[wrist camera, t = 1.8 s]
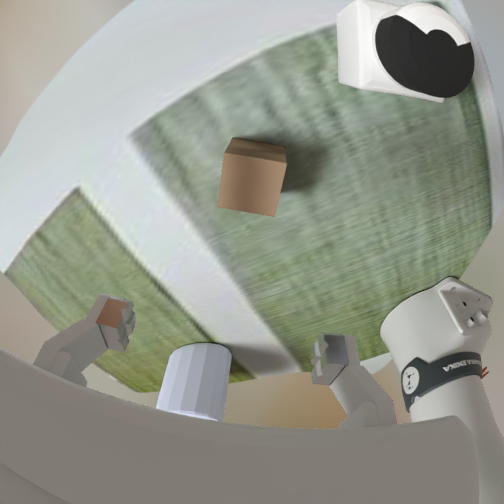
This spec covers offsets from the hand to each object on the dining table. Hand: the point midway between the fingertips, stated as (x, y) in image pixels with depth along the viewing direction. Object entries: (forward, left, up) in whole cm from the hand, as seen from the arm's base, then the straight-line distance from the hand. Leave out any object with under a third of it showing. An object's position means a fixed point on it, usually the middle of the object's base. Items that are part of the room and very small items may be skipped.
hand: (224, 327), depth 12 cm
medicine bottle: (-9, -14, -20) cm, 26 cm away
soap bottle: (+4, +35, -20) cm, 40 cm away
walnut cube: (0, 0, -19) cm, 19 cm away
